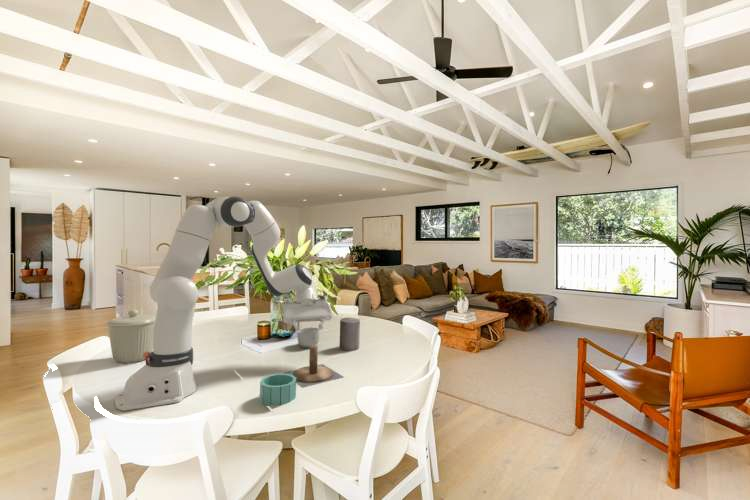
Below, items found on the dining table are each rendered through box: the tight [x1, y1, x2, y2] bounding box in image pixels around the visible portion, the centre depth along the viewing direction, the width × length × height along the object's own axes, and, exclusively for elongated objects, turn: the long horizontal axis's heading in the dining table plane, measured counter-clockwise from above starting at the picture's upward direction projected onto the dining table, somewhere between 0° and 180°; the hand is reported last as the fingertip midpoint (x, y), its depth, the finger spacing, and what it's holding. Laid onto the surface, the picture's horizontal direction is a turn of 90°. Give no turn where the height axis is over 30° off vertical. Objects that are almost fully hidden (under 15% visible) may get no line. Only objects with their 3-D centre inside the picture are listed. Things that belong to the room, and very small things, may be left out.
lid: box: [293, 344, 334, 383], centre depth 133 cm, size 15×15×11 cm
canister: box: [106, 309, 156, 364], centre depth 148 cm, size 18×18×21 cm
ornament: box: [279, 322, 300, 334], centre depth 188 cm, size 15×15×15 cm
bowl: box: [259, 373, 297, 407], centre depth 114 cm, size 11×11×6 cm
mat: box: [282, 363, 344, 389], centre depth 133 cm, size 17×17×1 cm
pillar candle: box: [339, 317, 361, 352], centre depth 170 cm, size 10×10×15 cm
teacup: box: [296, 326, 320, 348], centre depth 174 cm, size 14×11×8 cm
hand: (309, 329), depth 143 cm, fingers open, 8 cm apart
